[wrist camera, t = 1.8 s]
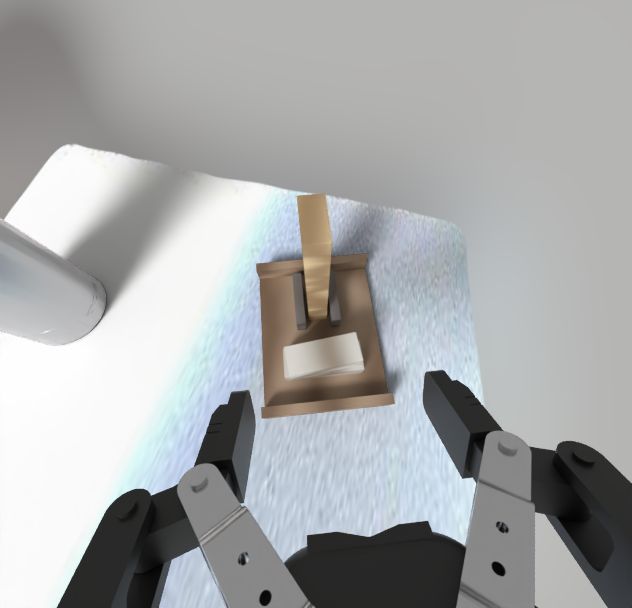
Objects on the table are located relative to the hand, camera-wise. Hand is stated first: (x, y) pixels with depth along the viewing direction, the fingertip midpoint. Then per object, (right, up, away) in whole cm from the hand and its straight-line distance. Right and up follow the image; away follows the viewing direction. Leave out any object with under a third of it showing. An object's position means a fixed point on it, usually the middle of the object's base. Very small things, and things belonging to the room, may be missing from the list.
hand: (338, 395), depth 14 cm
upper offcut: (0, -1, +17) cm, 17 cm away
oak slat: (-1, +4, +22) cm, 22 cm away
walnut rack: (-1, +1, +21) cm, 21 cm away
